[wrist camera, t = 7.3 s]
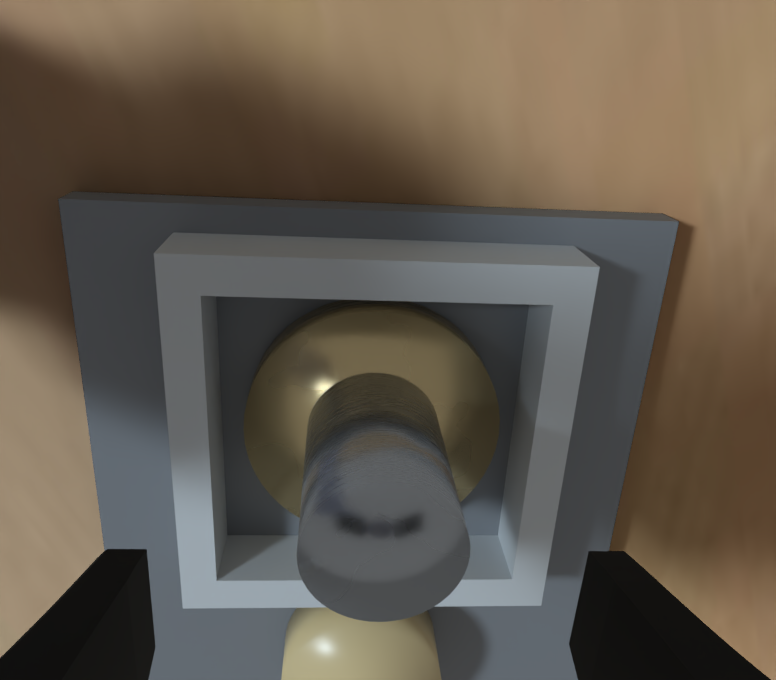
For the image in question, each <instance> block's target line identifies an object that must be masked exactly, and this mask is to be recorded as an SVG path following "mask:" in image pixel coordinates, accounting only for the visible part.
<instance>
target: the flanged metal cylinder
mask: <svg viewBox="0 0 776 680" xmlns="http://www.w3.org/2000/svg"><path fill="white" fill-rule="evenodd" d="M499 426H500V415H499V405H498V400H497V396H496V392H495V389H494V387H493V384H492V382H491V379H490V377H489V374H488V372H487V370H486V368H485V366H484V364H483V361H482V359H481V357H480V356H479V354H478V352H477V351H476V349H475V347H474V346H473V344H472V343H471V342H470V341H469V339H468V338H467V337H466V336H465V334H464V333H463V332H461V331H460V330H459V329H458V328H457V327H456V326H455V325H454V324H453V323H451V322H450V321H449V320H447V319H446V318H444V317H443V316H442V315H440V314H438V313H436V312H434V311H432V310H430V309H428V308H427V307H424V306H421V305H418V304H416V303H413V302H410V301H376V300H340V301H337V302H333V303H329V304H327V305H324V306H322V307H319V308H317V309H315V310H312V311H311V312H309V313H307V314H306V315H304V316H302V317H300V318H299V319H297V320H296V321H295V322H293V323H292V324H291V325H289V326H288V327H287V328H286V329H285V330H284V331H283V332H282V333H281V334H280V335H279V336H278V337H277V338H276V339H275V340H274V341H273V342H272V344H271V345H270V346H269V348H268V349H267V350H266V352H265V353H264V355H263V357H262V359H261V360H260V362H259V364H258V366H257V369H256V372H255V374H254V377H253V380H252V384H251V387H250V391H249V395H248V399H247V404H246V408H245V413H244V428H243V430H244V440H245V446H246V450H247V454H248V458H249V461H250V463H251V465H252V468H253V470H254V472H255V474H256V476H257V477H258V479H259V481H260V482H261V484H262V485H263V486H264V488H265V489H266V490H267V491H268V493H269V494H270V495H271V496H272V497H273V498H274V499H275V500H276V501H277V502H278V503H279V504H280V505H281V506H283V507H284V508H285V509H287V510H288V511H289V512H291V513H292V514H294V515H295V516H297V517H299V518H300V520H299V532H298V544H297V566H298V570H299V574H300V576H301V578H302V581H303V583H304V584H305V586H306V588H307V589H308V590H309V592H310V593H311V594H312V595H313V596H314V597H315V598H316V599H317V600H318V601H319V602H320V603H321V604H323V605H324V606H326V607H327V608H329V609H330V610H332V611H334V612H336V613H338V614H341V615H343V616H346V617H349V618H353V619H356V620H362V621H369V622H388V621H396V620H402V619H406V618H410V617H413V616H416V615H418V614H421V613H423V612H425V611H427V610H429V609H431V608H433V607H434V606H436V605H437V604H439V603H440V602H442V601H443V600H444V599H445V598H447V597H448V596H449V595H450V594H451V593H452V592H453V591H454V589H455V588H456V587H457V585H458V584H459V583H460V581H461V580H462V578H463V576H464V574H465V572H466V569H467V567H468V563H469V558H470V538H469V534H468V530H467V527H466V523H465V519H464V515H463V512H462V508H461V504H460V502H461V501H462V500H463V499H465V498H466V497H467V495H468V494H469V493H470V492H471V491H472V490H473V489H474V488H475V487H476V485H477V484H478V483H479V481H480V480H481V478H482V477H483V476H484V474H485V472H486V470H487V468H488V466H489V465H490V463H491V460H492V458H493V455H494V452H495V449H496V446H497V441H498V436H499Z"/></svg>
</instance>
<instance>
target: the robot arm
mask: <svg viewBox="0 0 776 680" xmlns="http://www.w3.org/2000/svg"><path fill="white" fill-rule="evenodd" d="M569 646H570V650H571V654H572V658H573V662H574V666H575V670H576V674H577V678H578V680H771V679H769V678H768V677H767V676H766V675H764V674H763V673H762V672H761V671H759V670H758V669H757V668H756V667H754V666H753V665H752V664H751V663H750V662H748V661H747V660H746V659H745V658H744V657H742V656H741V655H740V654H739V653H738V652H737V651H735V650H734V649H733V648H732V647H731V646H730V645H728V644H727V643H726V642H725V641H724V640H723V639H721V638H720V637H719V636H718V635H717V634H716V633H715V632H713V631H712V630H711V629H710V628H709V627H708V626H707V625H705V624H704V623H703V622H702V621H701V620H700V619H699V618H698V617H697V616H695V615H694V614H693V613H692V612H691V611H690V610H689V609H688V608H687V607H685V606H684V605H683V604H682V603H681V602H680V601H679V600H678V599H677V598H676V597H674V596H673V595H672V594H671V593H670V592H669V591H668V590H667V589H666V588H665V587H664V586H662V585H661V584H660V583H659V582H658V581H657V580H656V579H655V578H654V577H653V576H652V575H650V574H649V573H648V572H647V571H646V570H645V569H644V568H643V567H642V566H640V565H639V564H638V563H637V562H636V561H635V560H634V559H633V558H631V557H630V556H629V555H628V554H627V553H626V552H624V551H589V552H588V556H587V561H586V566H585V571H584V575H583V580H582V585H581V589H580V594H579V599H578V603H577V608H576V613H575V617H574V622H573V627H572V632H571V636H570V641H569ZM155 647H156V646H155V635H154V624H153V613H152V602H151V591H150V580H149V569H148V558H147V549H107V550H105V551H104V552H103V553H102V554H101V555H100V556H99V557H98V558H97V559H96V560H95V561H94V562H93V563H92V564H91V565H90V566H89V568H88V569H87V570H86V571H85V572H84V573H83V574H82V575H81V576H80V577H79V578H78V579H77V580H76V581H75V582H74V584H73V585H72V586H71V587H70V588H69V589H68V590H67V591H66V592H65V593H64V594H63V595H62V596H61V597H60V598H59V599H58V600H57V601H56V603H55V604H54V605H53V606H52V607H51V608H50V609H49V610H48V611H47V612H46V613H45V614H44V615H43V616H42V617H41V618H40V619H39V620H38V621H37V622H36V623H35V624H34V625H33V626H32V627H31V628H30V629H29V630H28V631H27V632H26V633H25V634H24V635H23V636H22V637H21V638H20V639H19V640H18V641H17V642H16V643H15V644H14V645H13V646H12V647H11V648H10V649H9V650H8V651H7V652H6V653H5V654H4V655H3V656H2V657H1V658H0V680H148V679H149V675H150V670H151V666H152V661H153V656H154V652H155Z"/></svg>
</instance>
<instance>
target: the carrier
mask: <svg viewBox="0 0 776 680" xmlns="http://www.w3.org/2000/svg"><path fill="white" fill-rule="evenodd" d="M58 201H59V208H60V216H61V223H62V231H63V239H64V246H65V254H66V261H67V269H68V276H69V284H70V292H71V299H72V307H73V314H74V322H75V329H76V337H77V345H78V352H79V360H80V367H81V375H82V382H83V390H84V397H85V405H86V413H87V420H88V428H89V435H90V443H91V450H92V458H93V466H94V473H95V481H96V488H97V496H98V503H99V511H100V519H101V526H102V534H103V541H104V549H105V550H107V549H147V558H148V569H149V580H150V591H151V602H152V613H153V624H154V635H155V646H156V647H155V652H154V656H153V661H152V666H151V670H150V675H149V679H148V680H578V678H577V674H576V670H575V666H574V662H573V658H572V654H571V650H570V646H569V641H570V636H571V632H572V627H573V622H574V617H575V613H576V608H577V603H578V599H579V594H580V589H581V585H582V580H583V575H584V571H585V566H586V561H587V556H588V552H589V551H609V548H610V543H611V538H612V534H613V529H614V524H615V520H616V515H617V510H618V506H619V501H620V496H621V491H622V487H623V482H624V477H625V473H626V468H627V463H628V459H629V454H630V449H631V445H632V440H633V435H634V430H635V426H636V421H637V416H638V412H639V407H640V402H641V398H642V393H643V388H644V384H645V379H646V374H647V369H648V365H649V360H650V355H651V351H652V346H653V341H654V337H655V332H656V327H657V323H658V318H659V313H660V308H661V304H662V299H663V294H664V290H665V285H666V280H667V276H668V271H669V266H670V262H671V257H672V252H673V247H674V243H675V238H676V233H677V229H678V224H679V221H677V220H675V219H673V218H671V217H669V216H667V215H665V214H660V213H634V212H607V211H580V210H553V209H527V208H500V207H473V206H447V205H420V204H393V203H367V202H340V201H313V200H286V199H260V198H233V197H206V196H180V195H153V194H126V193H100V192H71V193H69V194H67V195H65V196H63V197H61V198H59V199H58ZM340 300H376V301H410V302H413V303H416V304H418V305H421V306H424V307H427V308H428V309H430V310H432V311H434V312H436V313H438V314H440V315H442V316H443V317H444V318H446V319H447V320H449V321H450V322H451V323H453V324H454V325H455V326H456V327H457V328H458V329H459V330H460V331H461V332H463V333H464V334H465V336H466V337H467V338H468V339H469V341H470V342H471V343H472V344H473V346H474V347H475V349H476V351H477V352H478V354H479V356H480V357H481V359H482V361H483V364H484V366H485V368H486V370H487V372H488V374H489V377H490V379H491V382H492V384H493V387H494V389H495V392H496V396H497V400H498V405H499V415H500V426H499V436H498V441H497V446H496V449H495V452H494V455H493V458H492V460H491V463H490V465H489V466H488V468H487V470H486V472H485V474H484V476H483V477H482V478H481V480H480V481H479V483H478V484H477V485H476V487H475V488H474V489H473V490H472V491H471V492H470V493H469V494H468V495H467V497H466V498H465V499H463V500H462V501H461V502H460V504H461V508H462V512H463V515H464V519H465V523H466V527H467V530H468V534H469V538H470V558H469V563H468V567H467V569H466V572H465V574H464V576H463V578H462V580H461V581H460V583H459V584H458V585H457V587H456V588H455V589H454V591H453V592H452V593H451V594H450V595H449V596H448V597H447V598H445V599H444V600H443V601H442V602H440V603H439V604H437V605H436V606H434V607H433V608H431V609H429V610H427V611H425V612H423V613H421V614H418V615H416V616H413V617H410V618H406V619H402V620H396V621H388V622H369V621H362V620H356V619H353V618H349V617H346V616H343V615H341V614H338V613H336V612H334V611H332V610H330V609H329V608H327V607H326V606H324V605H323V604H321V603H320V602H319V601H318V600H317V599H316V598H315V597H314V596H313V595H312V594H311V593H310V592H309V590H308V589H307V588H306V586H305V584H304V583H303V581H302V578H301V576H300V574H299V570H298V566H297V544H298V532H299V520H300V518H299V517H297V516H295V515H294V514H292V513H291V512H289V511H288V510H287V509H285V508H284V507H283V506H281V505H280V504H279V503H278V502H277V501H276V500H275V499H274V498H273V497H272V496H271V495H270V494H269V493H268V491H267V490H266V489H265V488H264V486H263V485H262V484H261V482H260V481H259V479H258V477H257V476H256V474H255V472H254V470H253V468H252V465H251V463H250V461H249V458H248V454H247V450H246V446H245V440H244V430H243V428H244V413H245V408H246V404H247V399H248V395H249V391H250V387H251V384H252V380H253V377H254V374H255V372H256V369H257V366H258V364H259V362H260V360H261V359H262V357H263V355H264V353H265V352H266V350H267V349H268V348H269V346H270V345H271V344H272V342H273V341H274V340H275V339H276V338H277V337H278V336H279V335H280V334H281V333H282V332H283V331H284V330H285V329H286V328H287V327H288V326H289V325H291V324H292V323H293V322H295V321H296V320H297V319H299V318H300V317H302V316H304V315H306V314H307V313H309V312H311V311H312V310H315V309H317V308H319V307H322V306H324V305H327V304H329V303H333V302H337V301H340Z"/></svg>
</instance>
